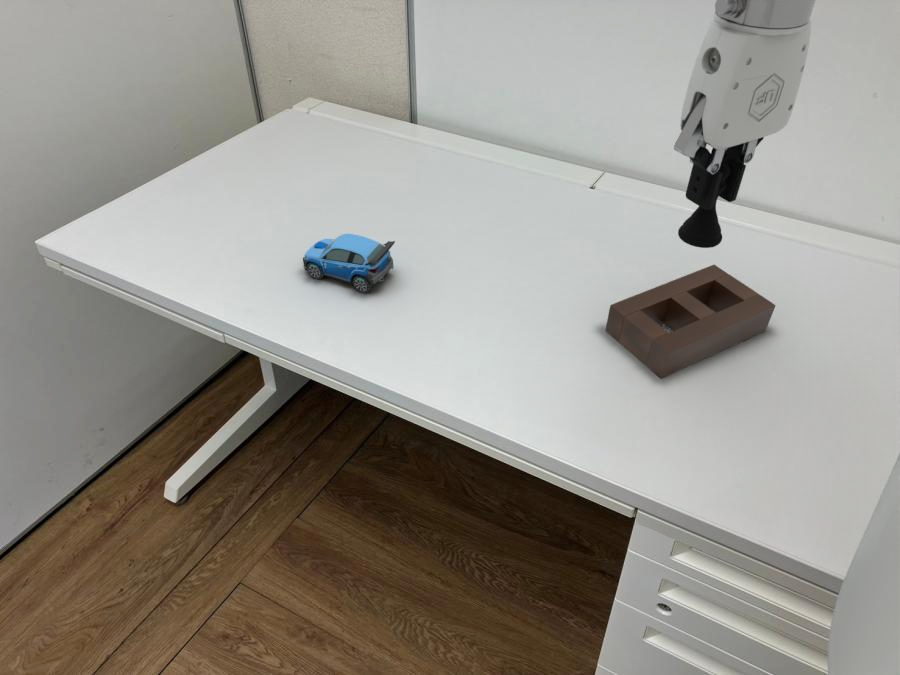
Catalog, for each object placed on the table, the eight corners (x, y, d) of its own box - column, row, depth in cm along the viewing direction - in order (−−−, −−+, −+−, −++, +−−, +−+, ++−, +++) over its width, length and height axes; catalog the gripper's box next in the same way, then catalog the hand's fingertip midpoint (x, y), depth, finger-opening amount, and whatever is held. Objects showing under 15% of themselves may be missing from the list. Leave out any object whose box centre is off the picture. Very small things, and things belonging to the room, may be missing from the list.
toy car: (322, 253, 98) (317, 218, 94) (399, 273, 94) (397, 237, 91) (299, 275, 94) (293, 239, 90) (378, 298, 90) (375, 261, 87)
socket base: (765, 330, 86) (775, 305, 83) (661, 379, 79) (668, 352, 77) (706, 289, 92) (714, 264, 90) (605, 330, 86) (610, 304, 83)
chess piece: (711, 224, 75) (736, 136, 69) (728, 246, 72) (756, 156, 65) (671, 226, 75) (693, 138, 68) (687, 249, 71) (711, 158, 65)
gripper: (729, 31, 53) (676, 238, 65) (866, 1, 59) (794, 196, 71) (660, 5, 58) (623, 203, 70) (792, -20, 64) (737, 166, 76)
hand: (710, 198), depth 70 cm, fingers closed on chess piece, 2 cm apart
